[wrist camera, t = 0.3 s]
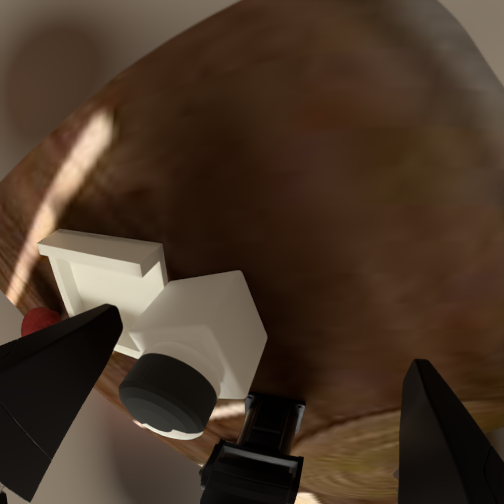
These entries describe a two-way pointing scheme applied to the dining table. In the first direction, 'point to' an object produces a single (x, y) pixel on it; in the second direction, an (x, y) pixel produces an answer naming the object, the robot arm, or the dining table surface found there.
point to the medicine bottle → (193, 353)
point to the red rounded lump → (39, 320)
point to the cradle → (106, 275)
